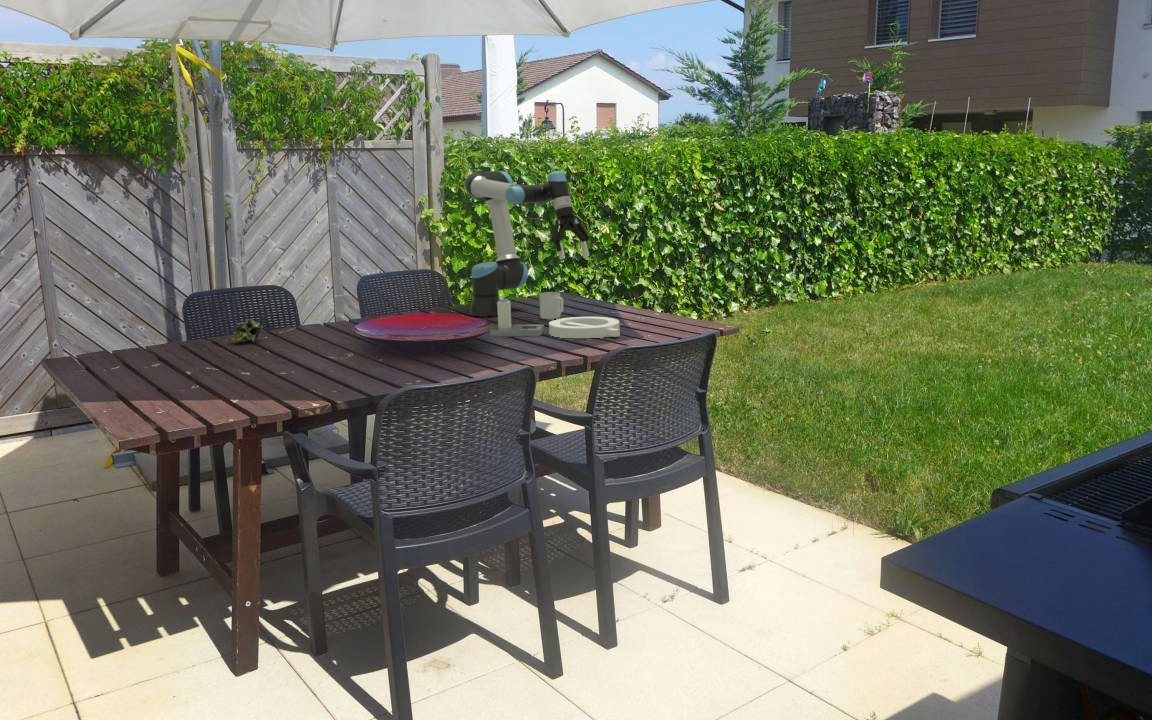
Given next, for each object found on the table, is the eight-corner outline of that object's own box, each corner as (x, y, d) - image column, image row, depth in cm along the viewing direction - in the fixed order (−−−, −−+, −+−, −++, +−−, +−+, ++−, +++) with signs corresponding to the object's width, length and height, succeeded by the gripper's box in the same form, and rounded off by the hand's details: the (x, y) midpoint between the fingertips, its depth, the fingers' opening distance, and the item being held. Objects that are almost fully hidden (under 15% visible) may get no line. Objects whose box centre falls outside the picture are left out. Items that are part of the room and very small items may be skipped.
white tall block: (500, 332, 378) (499, 298, 375) (511, 332, 378) (510, 298, 375) (498, 334, 374) (497, 300, 371) (509, 334, 373) (508, 300, 371)
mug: (536, 319, 409) (535, 293, 407) (550, 316, 416) (549, 291, 413) (556, 321, 401) (555, 295, 399) (570, 318, 408) (569, 293, 405)
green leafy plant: (252, 354, 377) (266, 328, 379) (257, 353, 367) (272, 326, 370) (226, 341, 372) (240, 314, 375) (230, 340, 362) (245, 312, 365)
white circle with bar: (620, 339, 359) (620, 327, 358) (547, 341, 359) (547, 329, 358) (618, 327, 386) (618, 315, 385) (551, 328, 387) (550, 317, 386)
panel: (495, 330, 383) (495, 324, 382) (544, 330, 381) (544, 324, 380) (489, 336, 370) (489, 330, 370) (539, 336, 368) (539, 330, 367)
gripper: (546, 206, 379) (558, 257, 378) (591, 205, 396) (602, 253, 395) (535, 212, 384) (546, 262, 384) (579, 210, 401) (590, 258, 400)
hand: (574, 258), depth 389 cm, fingers open, 13 cm apart
